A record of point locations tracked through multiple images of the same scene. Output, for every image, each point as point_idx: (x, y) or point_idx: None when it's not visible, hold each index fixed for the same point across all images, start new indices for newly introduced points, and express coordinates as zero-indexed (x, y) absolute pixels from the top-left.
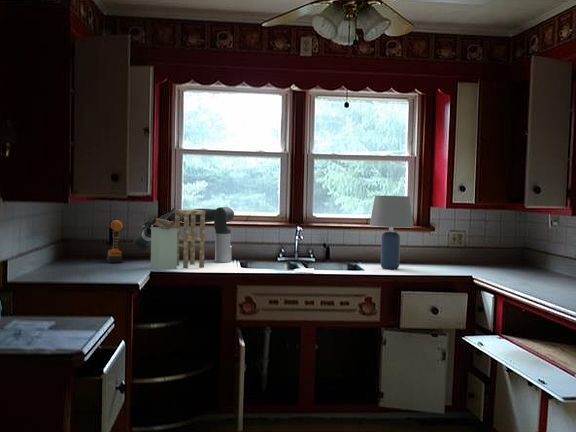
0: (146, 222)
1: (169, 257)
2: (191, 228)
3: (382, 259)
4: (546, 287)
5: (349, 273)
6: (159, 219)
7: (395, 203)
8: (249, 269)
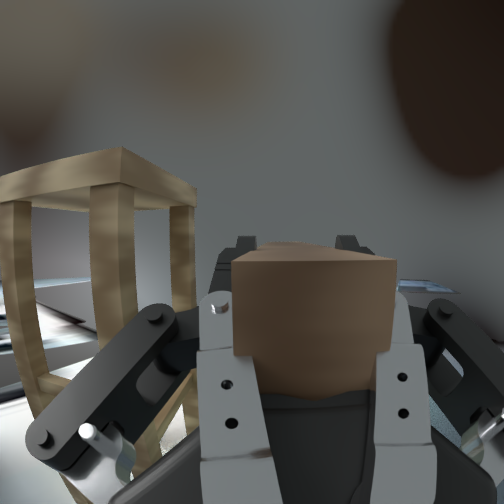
0: (475, 331)
1: None
2: (30, 321)
3: None
4: (54, 280)
5: (43, 314)
6: (305, 246)
7: None
8: (78, 370)
